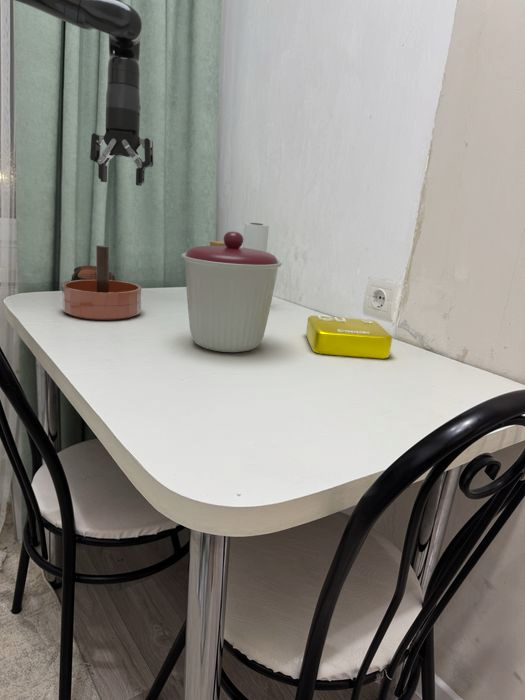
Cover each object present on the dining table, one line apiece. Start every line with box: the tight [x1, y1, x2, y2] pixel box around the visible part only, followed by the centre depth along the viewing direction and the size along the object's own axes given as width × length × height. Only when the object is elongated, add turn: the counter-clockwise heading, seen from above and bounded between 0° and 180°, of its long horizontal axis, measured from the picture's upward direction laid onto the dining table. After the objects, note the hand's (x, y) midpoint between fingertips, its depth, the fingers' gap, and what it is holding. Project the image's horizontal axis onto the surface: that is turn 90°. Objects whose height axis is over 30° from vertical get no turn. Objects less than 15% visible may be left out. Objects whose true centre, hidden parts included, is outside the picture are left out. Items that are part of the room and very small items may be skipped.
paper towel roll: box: [242, 222, 270, 252], centre depth 130 cm, size 7×6×21 cm
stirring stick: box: [95, 245, 110, 292], centre depth 110 cm, size 5×5×14 cm
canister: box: [180, 231, 283, 353], centre depth 93 cm, size 18×18×21 cm
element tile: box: [305, 314, 393, 360], centre depth 102 cm, size 15×15×5 cm
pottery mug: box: [70, 265, 116, 281], centre depth 131 cm, size 12×10×8 cm
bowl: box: [61, 280, 142, 321], centre depth 112 cm, size 16×16×6 cm
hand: (121, 183), depth 119 cm, fingers open, 8 cm apart
